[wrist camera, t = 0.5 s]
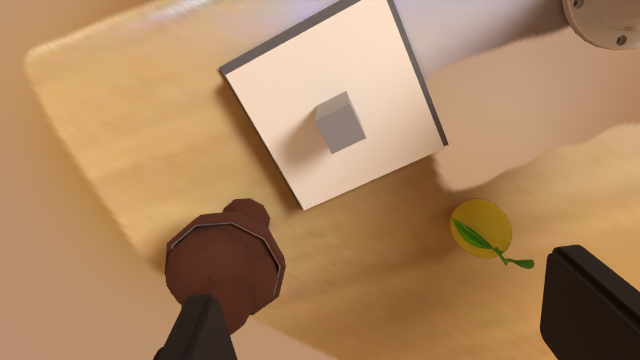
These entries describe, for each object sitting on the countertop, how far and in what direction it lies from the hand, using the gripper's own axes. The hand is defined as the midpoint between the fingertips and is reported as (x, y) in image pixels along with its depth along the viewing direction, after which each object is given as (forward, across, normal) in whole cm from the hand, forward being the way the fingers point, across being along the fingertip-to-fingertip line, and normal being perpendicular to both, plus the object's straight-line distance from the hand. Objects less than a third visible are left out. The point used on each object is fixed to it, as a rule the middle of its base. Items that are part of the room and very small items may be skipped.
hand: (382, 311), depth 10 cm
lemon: (+28, -14, +13) cm, 34 cm away
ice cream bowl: (+29, +12, +11) cm, 33 cm away
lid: (+28, 0, 0) cm, 28 cm away
